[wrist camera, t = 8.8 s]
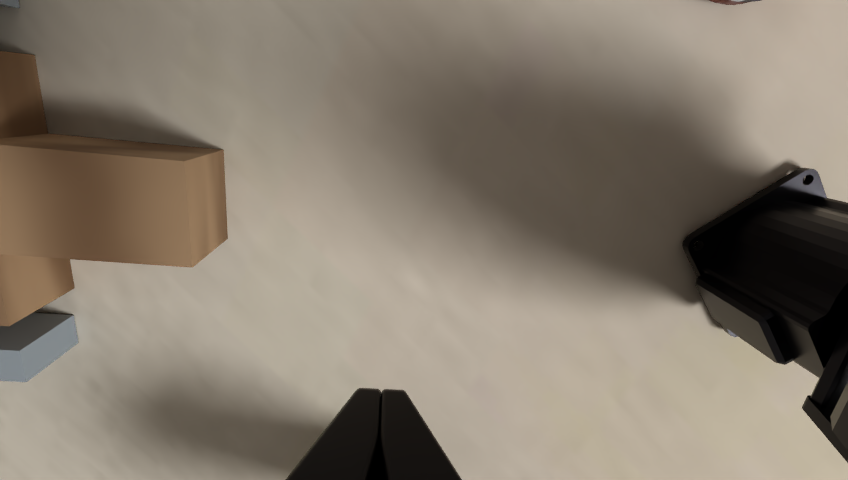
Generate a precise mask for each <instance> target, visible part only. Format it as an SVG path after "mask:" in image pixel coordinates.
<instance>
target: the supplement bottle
mask: <svg viewBox="0 0 848 480" xmlns="http://www.w3.org/2000/svg"><path fill="white" fill-rule="evenodd" d="M710 1H712V2H715V3H720V4H726V5H736V4H743V3H747V2H752V1H760V0H710Z"/></svg>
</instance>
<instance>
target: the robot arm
mask: <svg viewBox="0 0 848 480" xmlns="http://www.w3.org/2000/svg"><path fill="white" fill-rule="evenodd" d="M805 176H806V178H805V180H804V182H803V179H804V177H805ZM696 241H698V244H697V246H696V247H694V248H693V245H694V243H695V242H696ZM683 249H684V251H685V253H686V255H687V257H688V259H689V261H690V263H691V265H692V267H693V269H694V271H695V273H696V275H697V278H696V282H695V284H696V286H697V288H698V290H699V292H700V294H701V296H702V298H703V300H704V302H705V304H706V306H707V308H708V310H709V312H710V314H711V316H712V318H713V319H714V320H716V321H717V322H718V323H720V324H721V325H722V327H723V329H724V331H725V332H727V333H728V334H729V335H731V336H733V337H740V338H741V339H743V340H744V341H746V342H747V343H748V344H750V345H751V346H753V347H754V348H756V349H757V350H759V351H760V352H761V353H763V354H764V355H766V356H767V357H769V358H770V359H771V360H773V361H774V362H776V363H779V364H784V365H785V364H787V363H789V362H791V361H794V362H796V363H797V364H799V365H800V366H802V367H803V368H805V369H806V370H808V371H809V372H811V373H812V374H814V375H815V376H817V377H818V378H819V380H818V382H817V384H816V386H815V389H814V391H813V393H812V395H811V396H807V398H806V400H805V402H804V404H803V406H802V409H803V410H804V411H805V412H806V414H807V415H808V416H809V417H810V418H811V420H812V421H813V422H814V423H815V424H816V425H817V427H818V428H819V429H820V430H821V431H822V433H823V434H824V435H825V436H826V437H827V439H828V440H829V441H830V442H831V443H832V444H833V446H834V447H835V448H836V449H837V450H838V452H839V453H840V454H841V455H842V456H843V458H844V459H845V460H846V461H847V462H848V203H846V202H842V201H837V200H833V199H829V198H827V197H826V194H825V191H824V188H823V185H822V182H821V179H820V177H819V174H818V172H817V171H816V170H814V169H809V168H800V169H797V170H796V171H794V172H792V173H791V174H789V175H787V176H786V177H784V178H782V179H781V180H779V181H777V182H776V183H774V184H772V185H771V186H769V187H767V188H766V189H764V190H762V191H761V192H759V193H758V194H756V195H754V196H753V197H751V198H749V199H748V200H746V201H744V202H743V203H741V204H739V205H738V206H736V207H734V208H733V209H731V210H729V211H728V212H726V213H724V214H723V215H721V216H720V217H718V218H716V219H715V220H713V221H711V222H710V223H708V224H706V225H705V226H703V227H701V228H700V229H698V230H696V231H695V232H693V233H691V234H690V235H688V236H687V237H686V238H685V240H684V241H683ZM286 480H462V479H461V478H460V476H459V475H458V473H457V472H456V470H455V468H454V467H453V465H452V464H451V462H450V461H449V459H448V457H447V456H446V454H445V453H444V451H443V450H442V448H441V446H440V445H439V443H438V442H437V440H436V439H435V437H434V436H433V434H432V432H431V431H430V429H429V428H428V426H427V425H426V423H425V421H424V420H423V418H422V417H421V415H420V414H419V412H418V410H417V409H416V407H415V406H414V404H413V403H412V401H411V399H410V398H409V396H408V395H407V393H406V392H405V391H404V390H392V389H384V390H383V391H382V393H381V391H380V390H379V389H371V388H359V389H357V390H356V391H355V393H354V394H353V395H352V396H351V398H350V399H349V400H348V401H347V403H346V404H345V405H344V407H343V408H342V409H341V410H340V412H339V413H338V414H337V415H336V417H335V418H334V419H333V420H332V422H331V423H330V424H329V425H328V427H327V428H326V429H325V431H324V432H323V433H322V434H321V436H320V437H319V438H318V439H317V441H316V442H315V443H314V444H313V446H312V447H311V448H310V450H309V451H308V452H307V453H306V455H305V456H304V457H303V458H302V460H301V461H300V462H299V463H298V465H297V466H296V467H295V469H294V470H293V471H292V472H291V474H290V475H289V476H288V477H287V479H286Z"/></svg>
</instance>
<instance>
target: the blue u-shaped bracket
mask: <svg viewBox="0 0 848 480" xmlns="http://www.w3.org/2000/svg"><path fill="white" fill-rule="evenodd" d="M0 6H4V7H13V8H20V6H19V1H18V0H0ZM77 343H78V338H77V332H76V326H75V321H74V315H64V314H47V313H31V314H29V315H28V316H26V317H24V318H23V319H21V320H19V321H18V322H16V323H14V324H12V325H11V326H0V381H16V382H27V381H29V380H30V379H31V378H33V377H34V376H35V375H37V374H38V373H39V372H40V371H42V370H43V369H44V368H46V367H47V366H48V365H50V364H51V363H52V362H54V361H55V360H56V359H58V358H59V357H60V356H61V355H63V354H64V353H65V352H67V351H68V350H69V349H71V348H72V347H73V346H75V345H76V344H77Z"/></svg>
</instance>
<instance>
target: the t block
mask: <svg viewBox="0 0 848 480" xmlns="http://www.w3.org/2000/svg"><path fill="white" fill-rule="evenodd" d="M226 239H228V236H227V214H226V193H225V171H224V150H221V149H210V148H199V147H188V146H177V145H166V144H155V143H145V142H134V141H123V140H112V139H101V138H90V137H79V136H69V135H58V134H48V130H47V124H46V118H45V113H44V107H43V101H42V95H41V89H40V83H39V78H38V72H37V66H36V60H35V55H30V54H22V53H13V52H5V51H0V326H11V325H12V324H14V323H16V322H18V321H19V320H21V319H23V318H24V317H26V316H28V315H29V314H31V313H33V312H35V311H36V310H38V309H40V308H41V307H43V306H45V305H46V304H48V303H50V302H52V301H53V300H55V299H57V298H58V297H60V296H62V295H64V294H65V293H67V292H69V291H70V290H72V289H74V282H73V276H72V270H71V264H70V259H77V260H92V261H106V262H121V263H135V264H150V265H165V266H179V267H194V266H195V265H196V264H197V263H198V262H200V261H201V260H202V259H203V258H204V257H206V256H207V255H208V254H209V253H211V252H212V251H213V250H214V249H215V248H217V247H218V246H219V245H220V244H221V243H223V242H224V241H225V240H226Z"/></svg>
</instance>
